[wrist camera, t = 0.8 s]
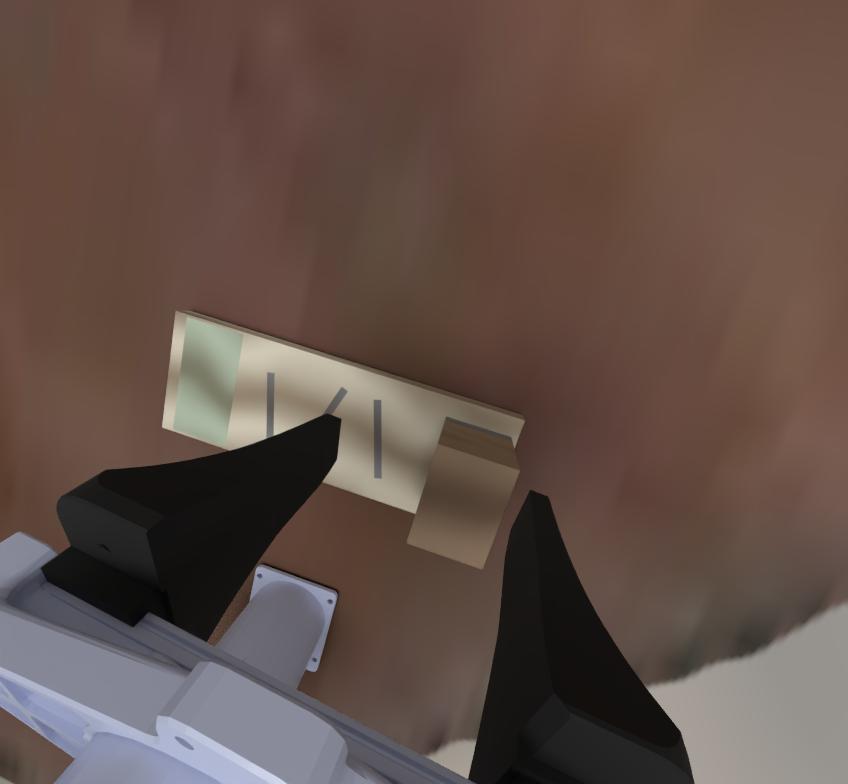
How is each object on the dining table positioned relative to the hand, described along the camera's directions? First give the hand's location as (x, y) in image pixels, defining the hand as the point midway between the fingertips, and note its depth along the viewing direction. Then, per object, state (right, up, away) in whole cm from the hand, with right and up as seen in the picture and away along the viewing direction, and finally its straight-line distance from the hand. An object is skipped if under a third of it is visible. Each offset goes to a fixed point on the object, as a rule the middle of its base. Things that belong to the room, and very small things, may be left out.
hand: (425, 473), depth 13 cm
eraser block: (+3, -3, +15) cm, 16 cm away
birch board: (-7, +1, +17) cm, 19 cm away
